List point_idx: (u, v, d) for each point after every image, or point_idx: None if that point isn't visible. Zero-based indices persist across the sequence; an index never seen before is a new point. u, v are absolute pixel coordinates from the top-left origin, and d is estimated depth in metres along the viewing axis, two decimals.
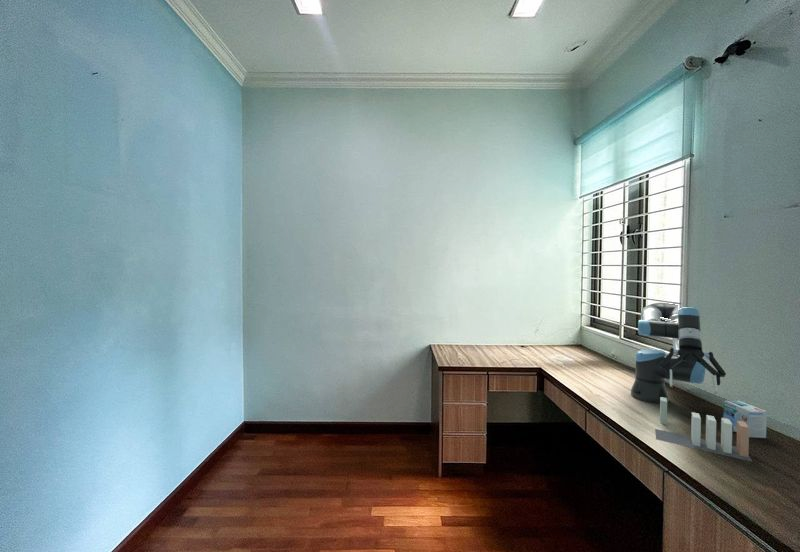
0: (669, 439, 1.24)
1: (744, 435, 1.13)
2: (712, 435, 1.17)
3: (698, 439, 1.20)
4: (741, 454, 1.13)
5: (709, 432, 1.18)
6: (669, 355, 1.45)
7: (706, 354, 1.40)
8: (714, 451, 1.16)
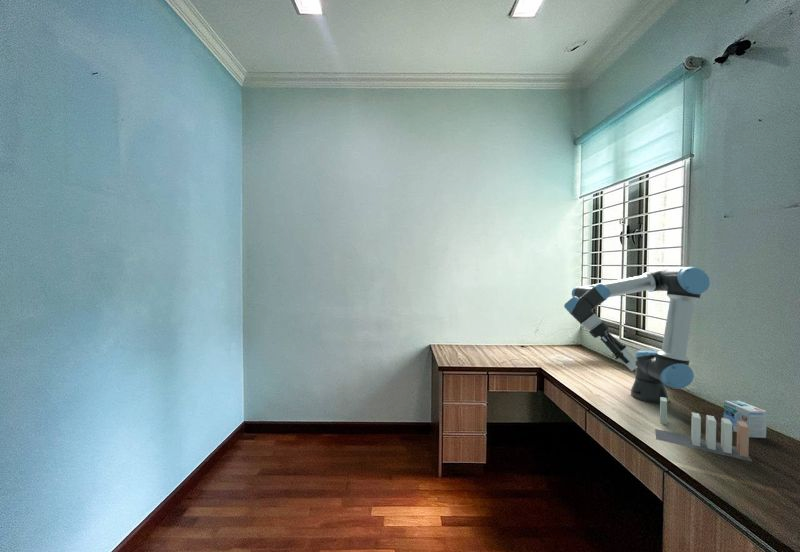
0: (669, 439, 1.24)
1: (744, 435, 1.13)
2: (712, 435, 1.17)
3: (698, 439, 1.20)
4: (741, 454, 1.13)
5: (709, 432, 1.18)
6: None
7: None
8: (714, 451, 1.16)
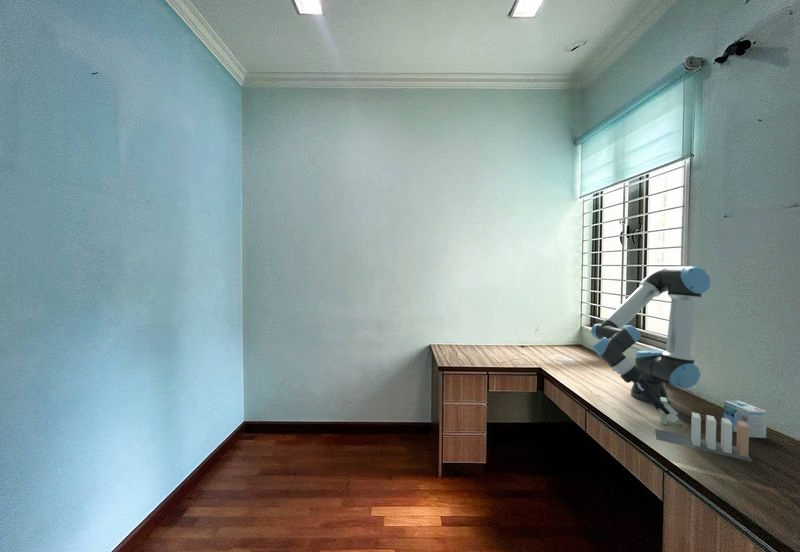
0: (669, 439, 1.24)
1: (744, 435, 1.13)
2: (712, 435, 1.17)
3: (698, 439, 1.20)
4: (741, 454, 1.13)
5: (709, 432, 1.18)
6: None
7: None
8: (714, 451, 1.16)
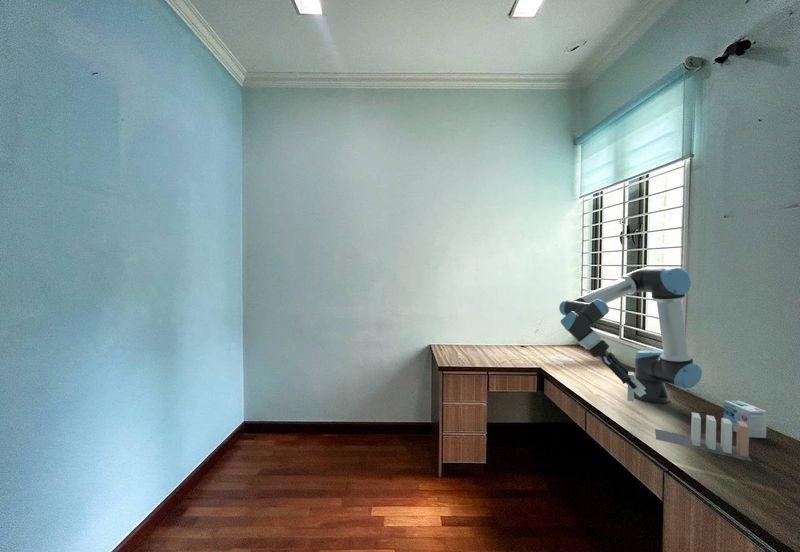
0: (669, 439, 1.24)
1: (744, 435, 1.13)
2: (712, 435, 1.17)
3: (698, 439, 1.20)
4: (741, 454, 1.13)
5: (709, 432, 1.18)
6: None
7: None
8: (714, 451, 1.16)
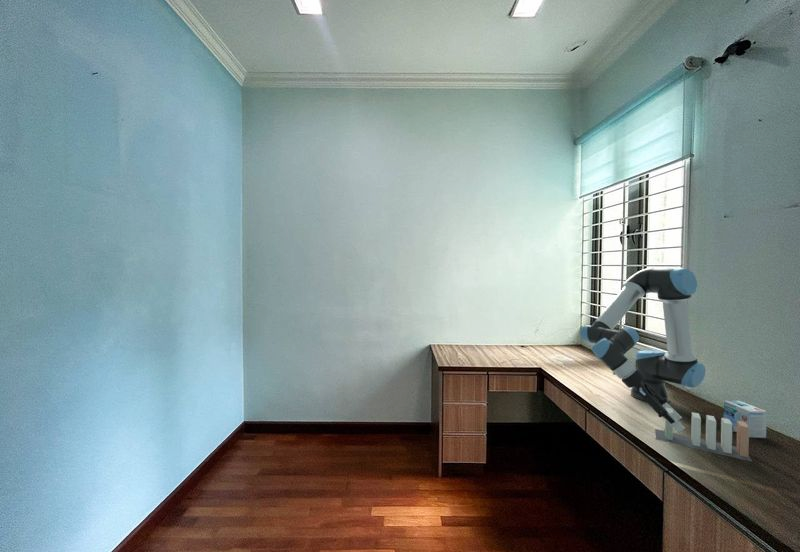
0: None
1: (744, 435, 1.13)
2: (712, 435, 1.17)
3: (698, 439, 1.20)
4: (741, 454, 1.13)
5: (709, 432, 1.18)
6: None
7: None
8: (714, 451, 1.16)
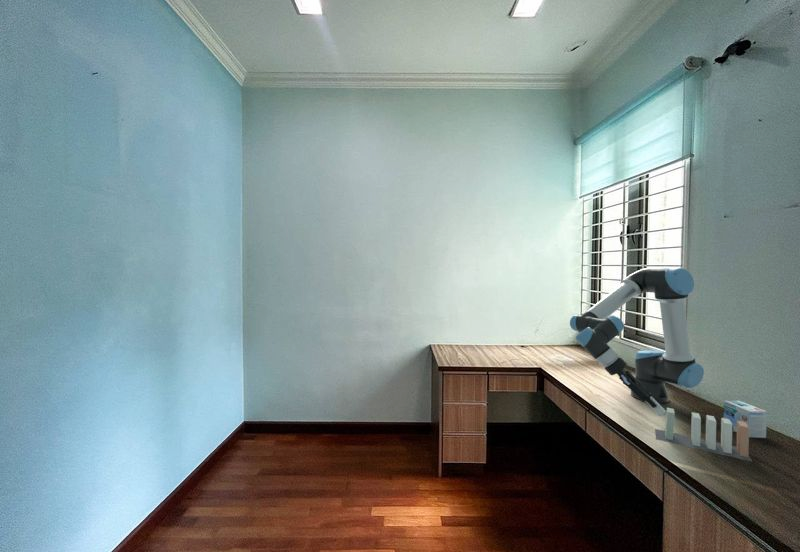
0: None
1: (744, 435, 1.13)
2: (712, 435, 1.17)
3: (698, 439, 1.20)
4: (741, 454, 1.13)
5: (709, 432, 1.18)
6: None
7: None
8: (714, 451, 1.16)
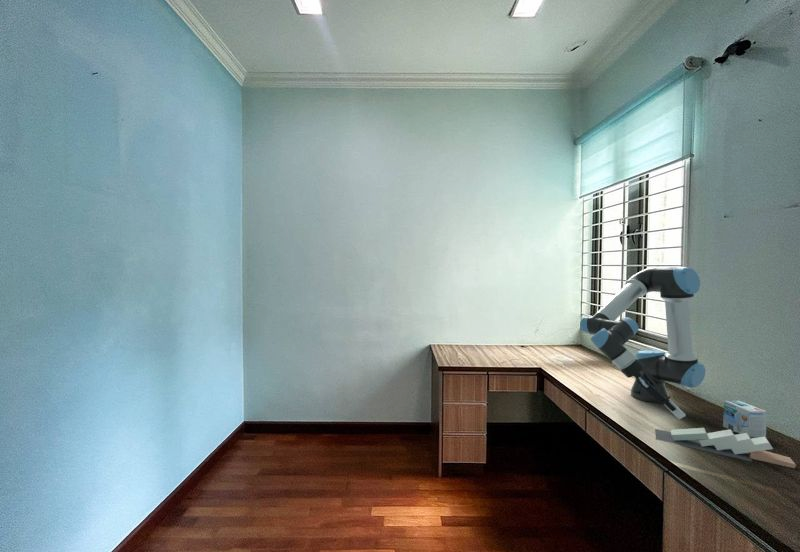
0: (669, 439, 1.24)
1: (781, 463, 1.08)
2: (732, 445, 1.15)
3: (709, 443, 1.18)
4: (752, 453, 1.12)
5: (734, 442, 1.14)
6: None
7: None
8: (714, 451, 1.16)
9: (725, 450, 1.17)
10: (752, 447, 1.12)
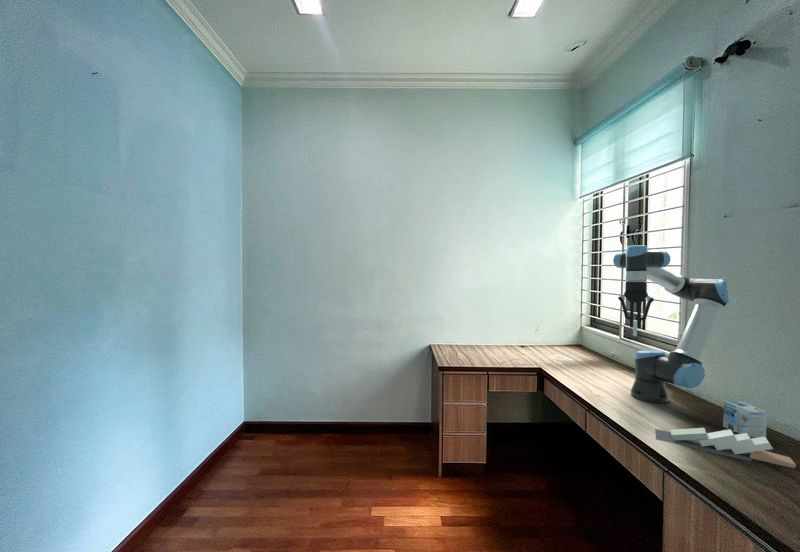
0: (669, 439, 1.24)
1: (781, 463, 1.08)
2: (732, 445, 1.15)
3: (709, 443, 1.18)
4: (752, 453, 1.12)
5: (734, 442, 1.14)
6: (623, 304, 1.49)
7: (648, 297, 1.44)
8: (714, 451, 1.16)
9: (725, 450, 1.17)
10: (752, 447, 1.12)
